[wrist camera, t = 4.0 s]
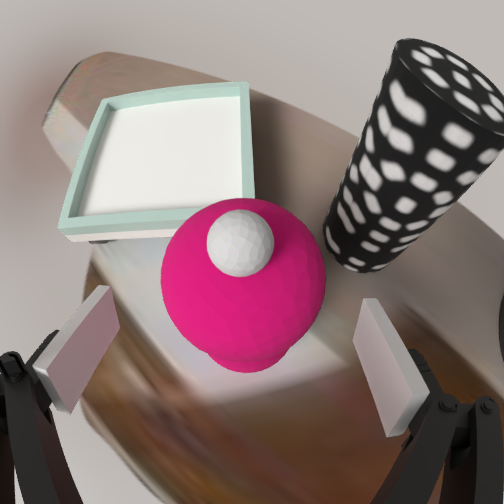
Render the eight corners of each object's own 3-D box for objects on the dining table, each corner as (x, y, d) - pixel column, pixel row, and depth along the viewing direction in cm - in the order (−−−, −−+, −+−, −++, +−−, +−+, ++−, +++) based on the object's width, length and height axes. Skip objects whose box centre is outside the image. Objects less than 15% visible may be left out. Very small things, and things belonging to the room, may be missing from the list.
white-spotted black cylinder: (386, 286, 27) (531, 164, 9) (311, 253, 28) (389, 76, 10) (402, 219, 30) (503, 85, 12) (335, 189, 31) (398, 25, 13)
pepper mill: (261, 278, 27) (282, 98, 9) (303, 345, 25) (432, 278, 7) (192, 315, 26) (75, 190, 8) (231, 386, 24) (175, 440, 5)
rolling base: (248, 117, 35) (248, 81, 30) (254, 247, 29) (255, 216, 23) (116, 130, 35) (102, 99, 29) (86, 253, 28) (57, 228, 23)
